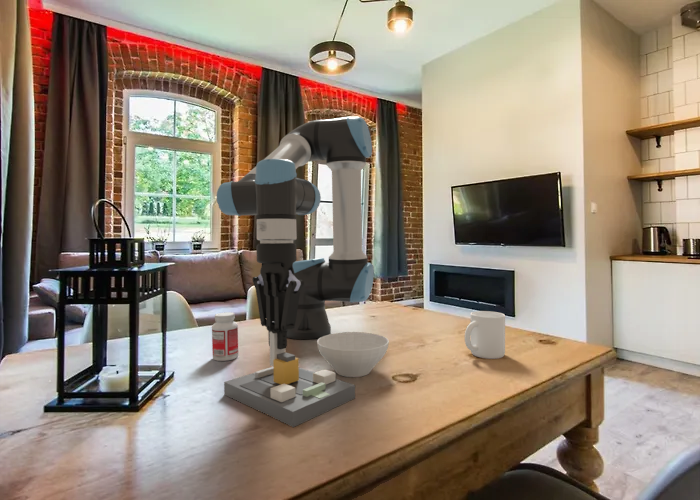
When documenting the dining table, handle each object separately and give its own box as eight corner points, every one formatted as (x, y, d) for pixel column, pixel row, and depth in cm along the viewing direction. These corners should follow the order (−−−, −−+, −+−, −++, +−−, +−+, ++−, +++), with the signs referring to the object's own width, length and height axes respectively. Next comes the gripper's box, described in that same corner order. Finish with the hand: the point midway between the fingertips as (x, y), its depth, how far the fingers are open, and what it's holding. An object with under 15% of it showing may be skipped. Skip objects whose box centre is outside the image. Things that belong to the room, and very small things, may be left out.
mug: (478, 363, 94) (478, 320, 94) (452, 355, 101) (452, 314, 101) (512, 356, 100) (512, 315, 99) (486, 348, 107) (486, 309, 107)
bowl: (366, 390, 78) (366, 354, 78) (302, 375, 87) (302, 343, 86) (400, 367, 92) (400, 337, 91) (342, 356, 100) (342, 329, 100)
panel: (224, 394, 76) (224, 373, 76) (285, 374, 88) (285, 355, 87) (293, 427, 63) (292, 401, 63) (354, 398, 74) (354, 375, 74)
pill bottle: (237, 353, 104) (236, 311, 104) (239, 360, 98) (238, 315, 98) (212, 355, 102) (211, 312, 101) (212, 362, 96) (211, 317, 96)
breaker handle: (273, 381, 75) (273, 355, 75) (288, 376, 78) (288, 351, 78) (284, 385, 73) (283, 358, 73) (298, 380, 76) (298, 354, 76)
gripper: (240, 242, 78) (241, 362, 78) (282, 242, 69) (283, 377, 70) (271, 241, 83) (272, 353, 84) (314, 242, 75) (315, 366, 75)
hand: (277, 364), depth 77 cm, fingers closed
